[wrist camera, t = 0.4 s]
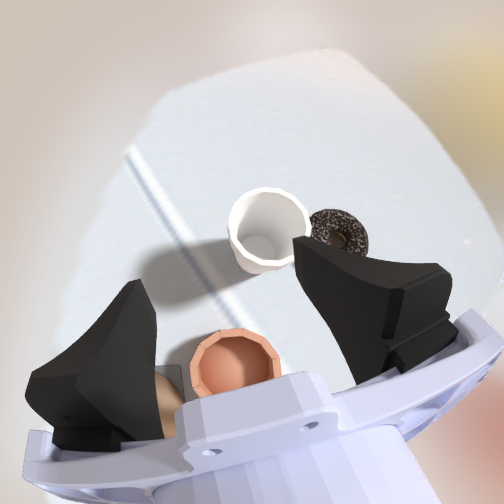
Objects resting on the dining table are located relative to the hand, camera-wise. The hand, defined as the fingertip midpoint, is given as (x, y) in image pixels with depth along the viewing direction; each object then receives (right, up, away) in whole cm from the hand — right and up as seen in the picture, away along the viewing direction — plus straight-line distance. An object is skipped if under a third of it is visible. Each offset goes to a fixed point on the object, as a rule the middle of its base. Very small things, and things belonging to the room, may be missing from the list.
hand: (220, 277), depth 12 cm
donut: (+15, +2, +33) cm, 36 cm away
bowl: (-1, -16, +26) cm, 30 cm away
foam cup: (+2, +1, +31) cm, 31 cm away
